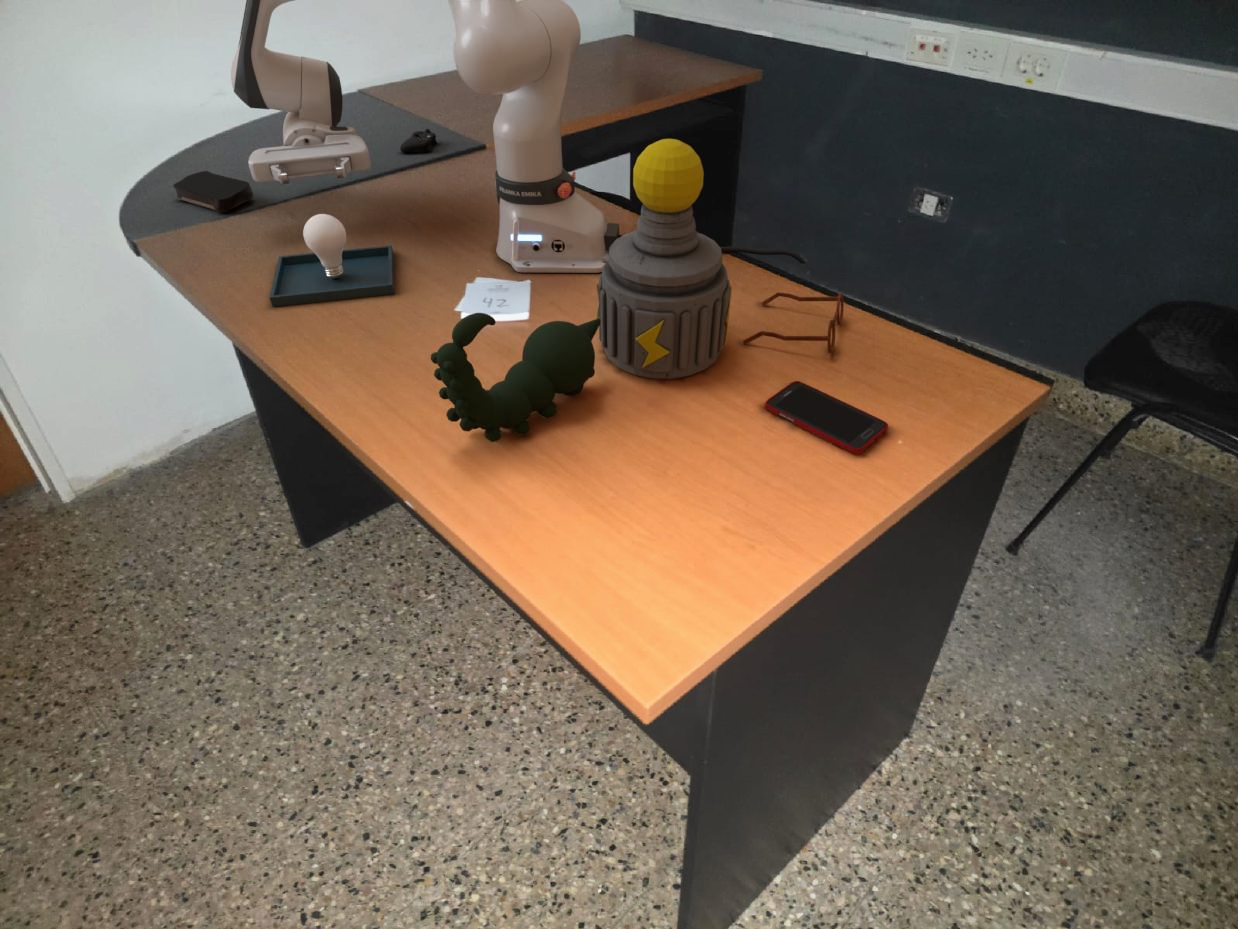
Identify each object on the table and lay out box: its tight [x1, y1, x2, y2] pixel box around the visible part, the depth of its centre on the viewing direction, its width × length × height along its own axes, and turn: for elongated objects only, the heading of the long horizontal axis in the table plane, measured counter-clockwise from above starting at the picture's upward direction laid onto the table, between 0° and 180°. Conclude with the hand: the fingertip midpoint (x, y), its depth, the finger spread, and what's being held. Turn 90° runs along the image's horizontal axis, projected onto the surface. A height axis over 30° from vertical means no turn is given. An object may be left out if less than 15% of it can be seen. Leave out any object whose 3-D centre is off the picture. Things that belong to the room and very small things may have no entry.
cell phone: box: [764, 380, 889, 455], centre depth 103 cm, size 8×15×1 cm, turn 46°
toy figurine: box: [430, 312, 601, 443], centre depth 99 cm, size 9×19×25 cm
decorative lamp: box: [595, 138, 733, 380], centre depth 108 cm, size 19×19×30 cm
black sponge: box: [173, 170, 254, 213], centre depth 159 cm, size 16×8×4 cm, turn 59°
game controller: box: [399, 128, 438, 154], centre depth 183 cm, size 10×5×6 cm
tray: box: [269, 244, 395, 308], centre depth 134 cm, size 19×15×2 cm
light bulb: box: [302, 213, 347, 279], centre depth 131 cm, size 7×7×11 cm
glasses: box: [742, 291, 845, 354], centre depth 119 cm, size 13×13×5 cm
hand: (312, 176), depth 134 cm, fingers open, 8 cm apart
